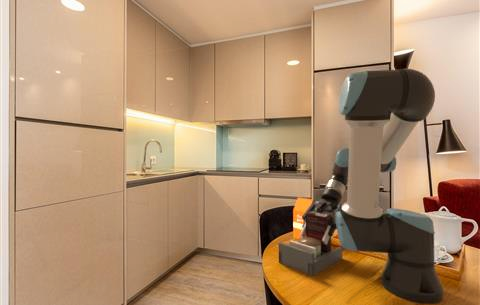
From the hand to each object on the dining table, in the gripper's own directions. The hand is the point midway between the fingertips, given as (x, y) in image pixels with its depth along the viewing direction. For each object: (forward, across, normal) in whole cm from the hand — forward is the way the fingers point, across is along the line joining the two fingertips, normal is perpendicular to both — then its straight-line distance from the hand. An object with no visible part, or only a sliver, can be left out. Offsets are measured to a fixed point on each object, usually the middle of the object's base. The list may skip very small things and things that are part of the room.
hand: (312, 239), depth 93 cm
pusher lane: (+7, 0, -5) cm, 9 cm away
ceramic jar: (+7, 0, -4) cm, 8 cm away
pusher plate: (+10, 0, 0) cm, 10 cm away
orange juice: (-7, +16, -20) cm, 26 cm away
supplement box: (+2, 0, -8) cm, 8 cm away
